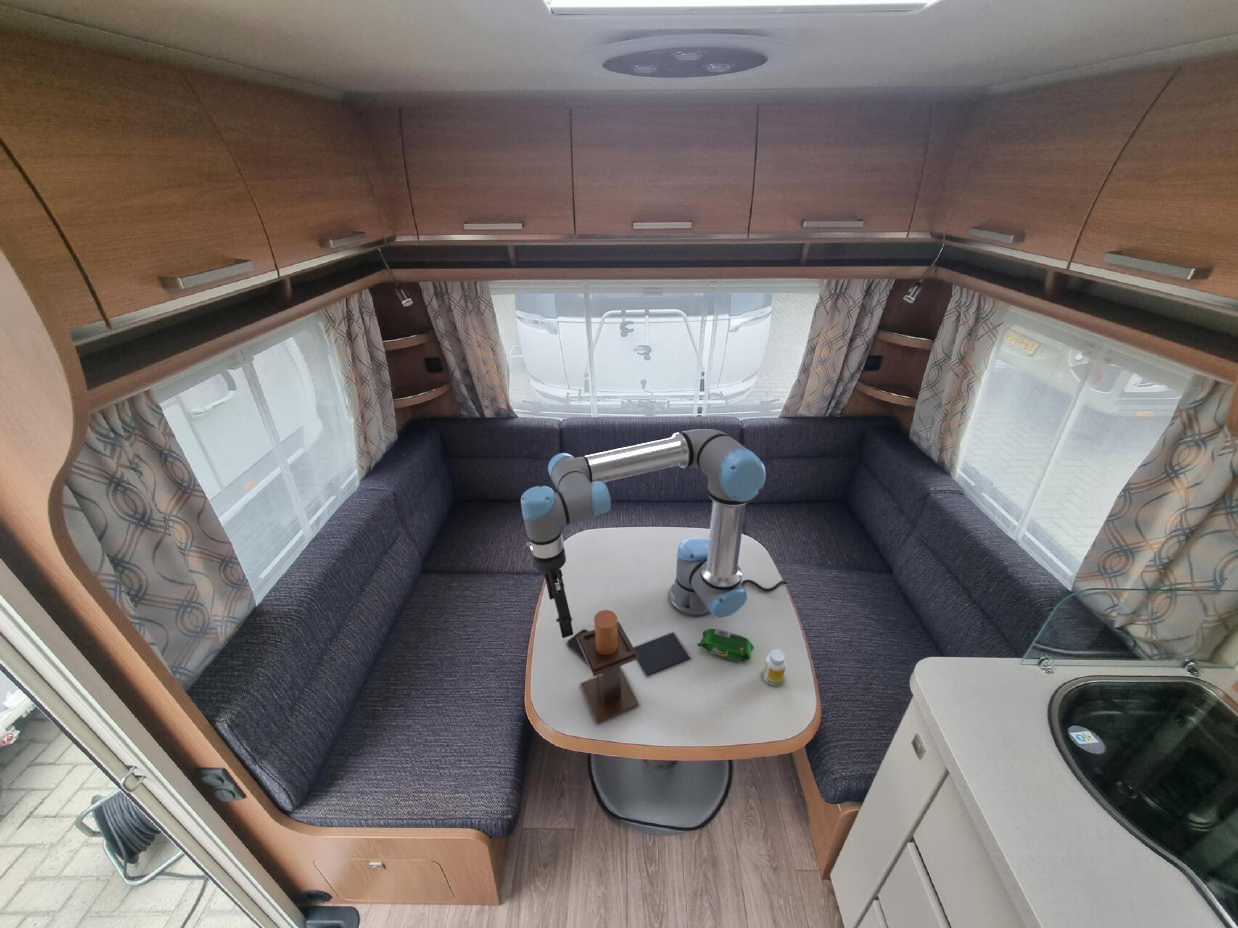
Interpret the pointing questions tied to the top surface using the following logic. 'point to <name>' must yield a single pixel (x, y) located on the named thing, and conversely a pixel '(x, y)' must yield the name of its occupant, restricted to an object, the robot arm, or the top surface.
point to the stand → (608, 676)
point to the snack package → (726, 645)
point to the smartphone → (577, 644)
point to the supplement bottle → (774, 667)
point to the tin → (606, 632)
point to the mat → (660, 654)
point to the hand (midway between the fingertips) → (560, 615)
